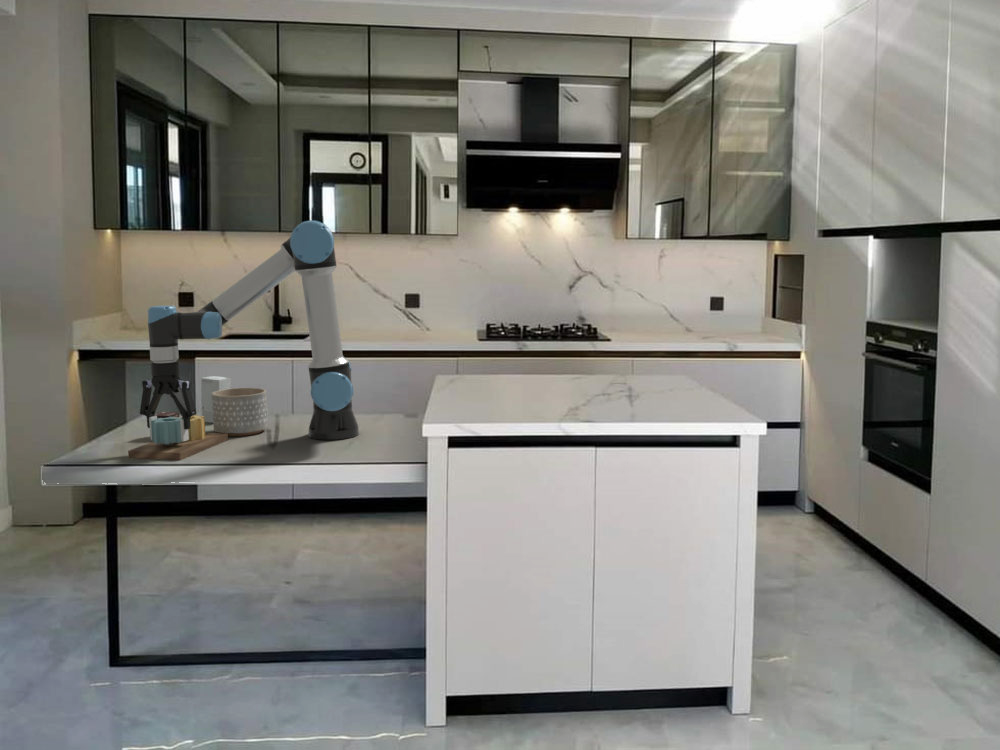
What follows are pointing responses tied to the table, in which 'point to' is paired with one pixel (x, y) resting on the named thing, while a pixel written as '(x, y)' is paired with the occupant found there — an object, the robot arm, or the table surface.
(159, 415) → the box
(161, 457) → the gear board
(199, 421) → the gear out
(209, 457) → the table surface
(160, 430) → the gear
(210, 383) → the skincare box
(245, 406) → the planter
